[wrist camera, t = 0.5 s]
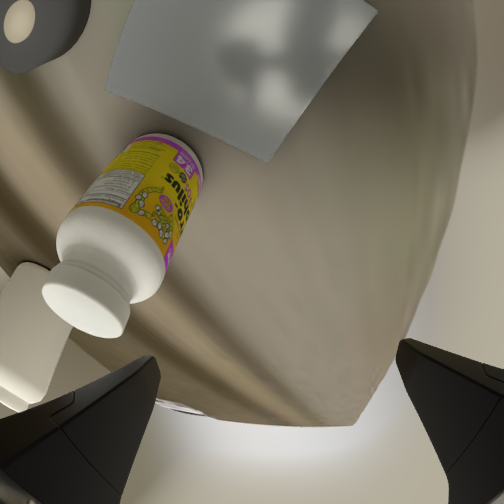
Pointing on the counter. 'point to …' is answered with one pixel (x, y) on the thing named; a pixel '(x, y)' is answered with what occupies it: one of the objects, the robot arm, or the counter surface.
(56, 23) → the dark grey thick disc
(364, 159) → the counter surface
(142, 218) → the supplement bottle
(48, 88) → the counter surface
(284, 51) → the grey flat square piece
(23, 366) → the white jar
